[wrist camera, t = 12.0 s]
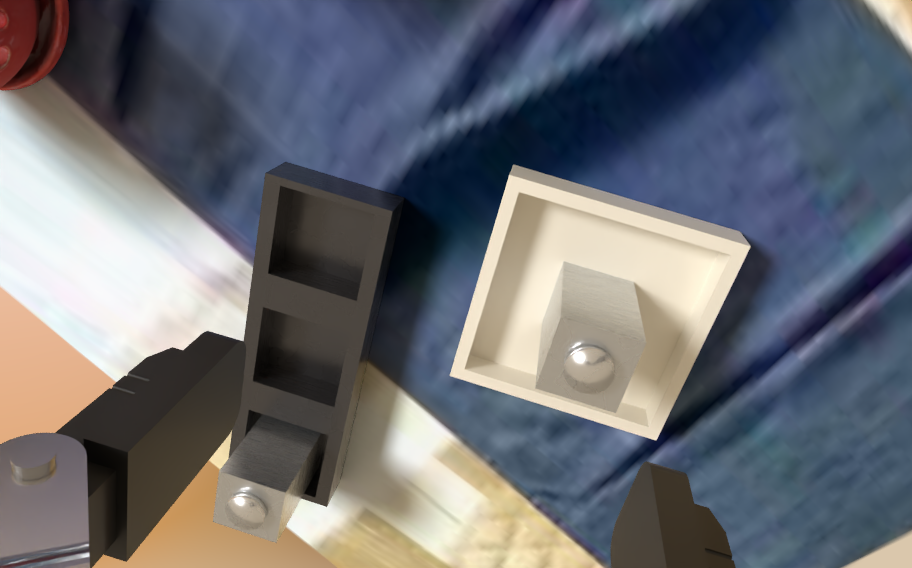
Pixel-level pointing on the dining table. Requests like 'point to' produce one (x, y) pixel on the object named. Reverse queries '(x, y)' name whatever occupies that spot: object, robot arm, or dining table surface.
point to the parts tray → (608, 251)
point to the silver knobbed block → (590, 338)
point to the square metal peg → (267, 477)
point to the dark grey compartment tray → (314, 307)
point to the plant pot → (30, 40)
